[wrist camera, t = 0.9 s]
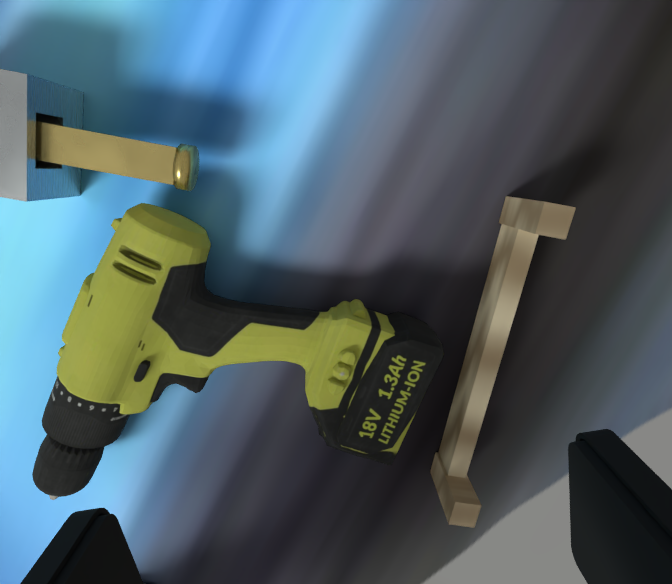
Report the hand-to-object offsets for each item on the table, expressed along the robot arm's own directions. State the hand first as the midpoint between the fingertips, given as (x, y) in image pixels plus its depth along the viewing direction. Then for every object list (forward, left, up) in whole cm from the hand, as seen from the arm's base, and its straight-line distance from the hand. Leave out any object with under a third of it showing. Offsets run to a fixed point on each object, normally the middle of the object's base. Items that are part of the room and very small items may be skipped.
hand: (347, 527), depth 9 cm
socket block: (+5, +22, -26) cm, 34 cm away
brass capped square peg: (+5, +15, -23) cm, 28 cm away
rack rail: (-5, -13, -26) cm, 29 cm away
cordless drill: (-12, +6, -26) cm, 29 cm away
